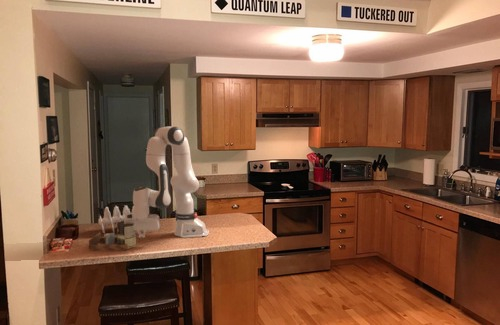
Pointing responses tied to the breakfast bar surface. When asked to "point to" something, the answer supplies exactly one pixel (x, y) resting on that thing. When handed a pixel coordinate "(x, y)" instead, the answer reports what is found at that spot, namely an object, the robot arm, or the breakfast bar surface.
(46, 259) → the breakfast bar surface
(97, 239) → the brown tray
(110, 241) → the pusher
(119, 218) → the white spiky piece
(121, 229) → the coffee can
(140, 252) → the breakfast bar surface
